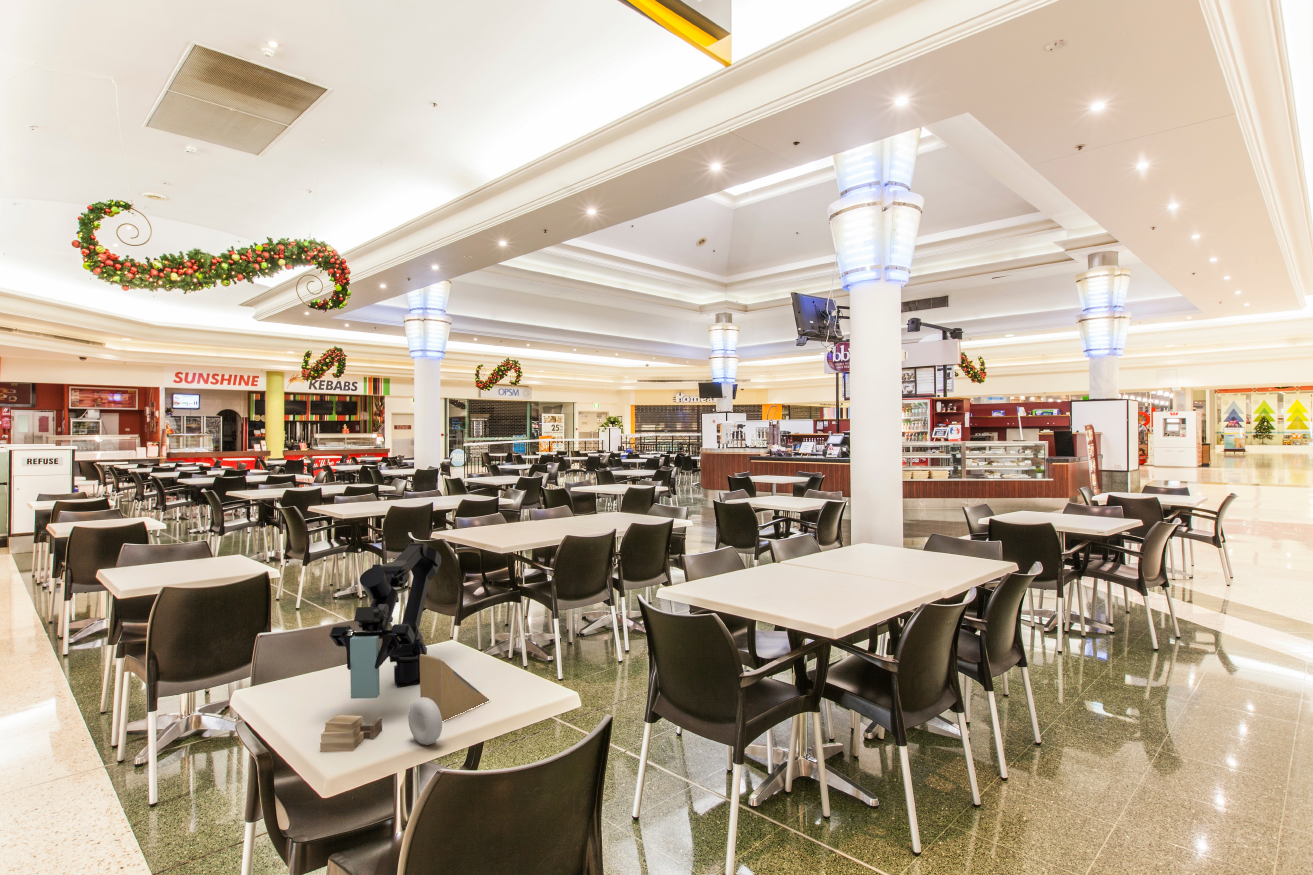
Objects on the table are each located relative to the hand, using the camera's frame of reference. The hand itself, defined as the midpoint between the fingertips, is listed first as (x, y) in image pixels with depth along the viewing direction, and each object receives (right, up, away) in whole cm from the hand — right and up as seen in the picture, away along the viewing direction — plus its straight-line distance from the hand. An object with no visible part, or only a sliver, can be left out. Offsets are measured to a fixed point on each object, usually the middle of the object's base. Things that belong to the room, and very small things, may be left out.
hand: (362, 668), depth 148 cm
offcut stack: (0, -14, -10) cm, 17 cm away
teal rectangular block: (0, -7, +1) cm, 7 cm away
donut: (+18, -13, -10) cm, 24 cm away
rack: (0, -13, -5) cm, 14 cm away
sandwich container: (+19, -14, +10) cm, 26 cm away
